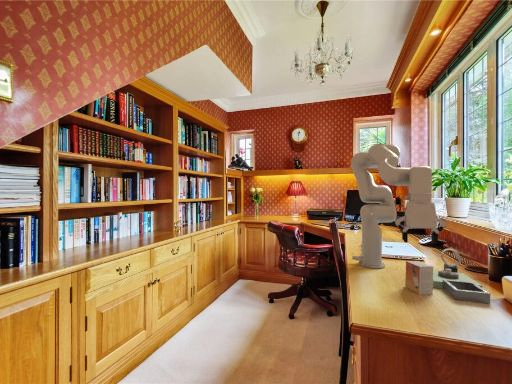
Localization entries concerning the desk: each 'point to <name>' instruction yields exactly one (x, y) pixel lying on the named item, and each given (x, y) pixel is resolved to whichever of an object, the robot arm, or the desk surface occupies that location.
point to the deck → (450, 277)
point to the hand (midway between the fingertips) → (419, 242)
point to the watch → (451, 266)
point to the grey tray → (466, 291)
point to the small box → (419, 277)
